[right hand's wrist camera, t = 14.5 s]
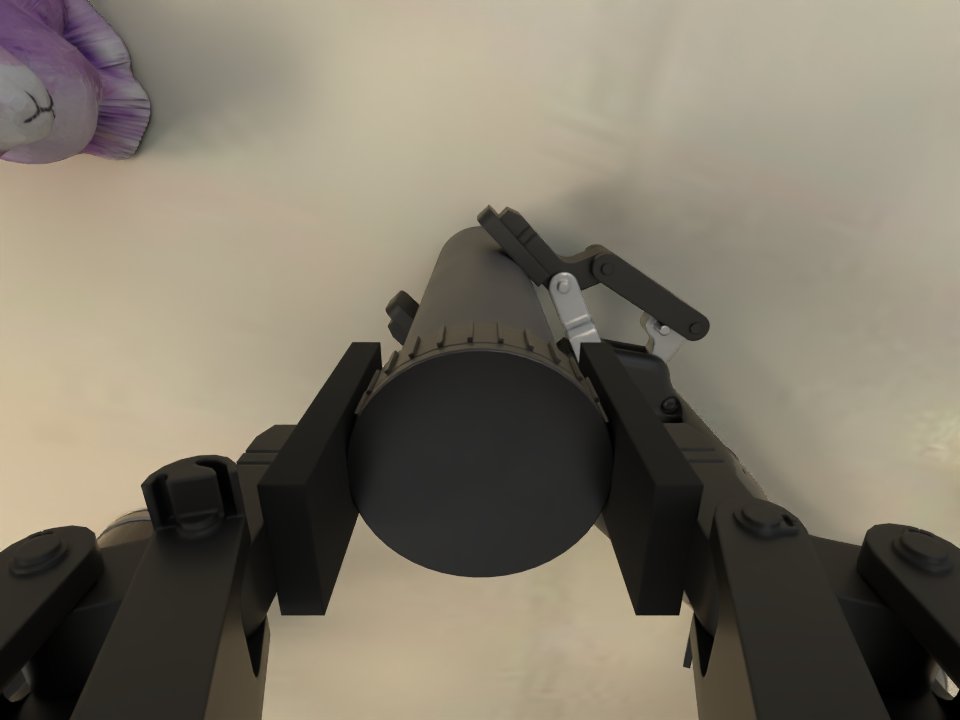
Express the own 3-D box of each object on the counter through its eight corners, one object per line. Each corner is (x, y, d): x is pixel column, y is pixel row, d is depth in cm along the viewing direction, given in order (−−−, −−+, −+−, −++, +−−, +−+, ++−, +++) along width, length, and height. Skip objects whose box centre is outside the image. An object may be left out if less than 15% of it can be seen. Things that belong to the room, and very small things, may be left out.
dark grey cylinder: (506, 322, 30) (543, 568, 12) (426, 296, 30) (345, 515, 12) (535, 243, 28) (629, 394, 11) (451, 214, 28) (402, 322, 10)
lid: (563, 283, 11) (576, 303, 9) (627, 496, 13) (646, 541, 11) (316, 367, 11) (293, 398, 10) (414, 557, 13) (405, 607, 12)
